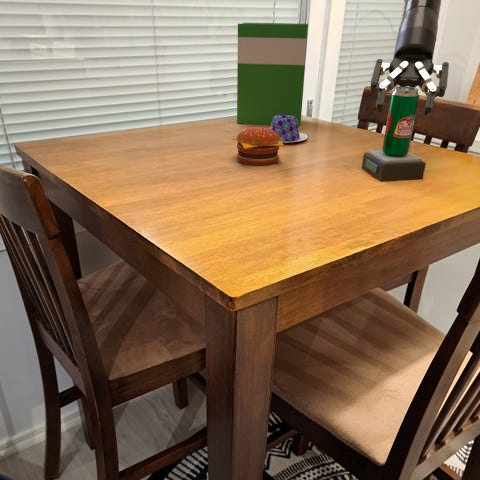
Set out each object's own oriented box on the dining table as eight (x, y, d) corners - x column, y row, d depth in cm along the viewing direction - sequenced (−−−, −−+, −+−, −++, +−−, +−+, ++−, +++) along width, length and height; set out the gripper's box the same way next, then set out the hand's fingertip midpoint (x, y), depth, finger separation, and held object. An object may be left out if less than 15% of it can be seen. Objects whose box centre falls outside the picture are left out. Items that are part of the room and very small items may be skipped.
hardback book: (300, 120, 143) (308, 23, 130) (300, 125, 137) (307, 24, 124) (240, 117, 145) (241, 22, 132) (237, 123, 139) (237, 23, 126)
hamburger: (245, 167, 103) (245, 134, 99) (230, 156, 110) (230, 124, 107) (286, 163, 105) (288, 131, 102) (269, 152, 113) (271, 122, 109)
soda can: (392, 158, 96) (404, 91, 89) (376, 152, 100) (386, 87, 93) (413, 156, 98) (426, 89, 91) (396, 150, 101) (408, 85, 95)
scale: (401, 166, 105) (404, 147, 103) (422, 179, 98) (426, 159, 96) (360, 168, 103) (362, 149, 101) (379, 181, 96) (382, 161, 94)
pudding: (270, 131, 131) (271, 110, 128) (314, 136, 126) (315, 114, 123) (252, 141, 121) (252, 118, 119) (298, 147, 117) (300, 124, 114)
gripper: (381, 23, 97) (366, 96, 94) (458, 25, 94) (445, 101, 91) (378, 52, 104) (365, 120, 102) (450, 55, 101) (438, 125, 98)
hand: (403, 111), depth 96 cm, fingers open, 8 cm apart
